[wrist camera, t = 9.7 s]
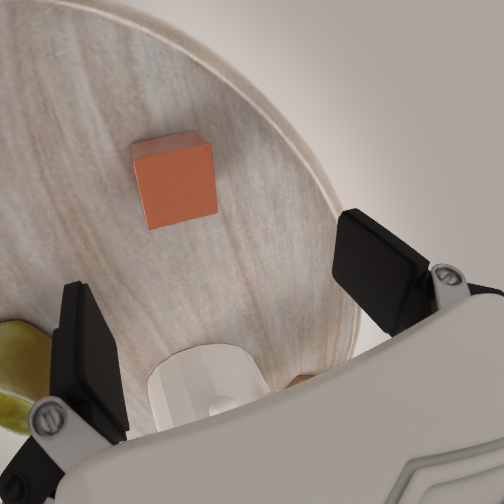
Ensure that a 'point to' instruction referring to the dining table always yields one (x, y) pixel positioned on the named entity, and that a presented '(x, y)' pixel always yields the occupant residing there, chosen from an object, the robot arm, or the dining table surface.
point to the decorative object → (203, 384)
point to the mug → (22, 373)
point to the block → (175, 178)
